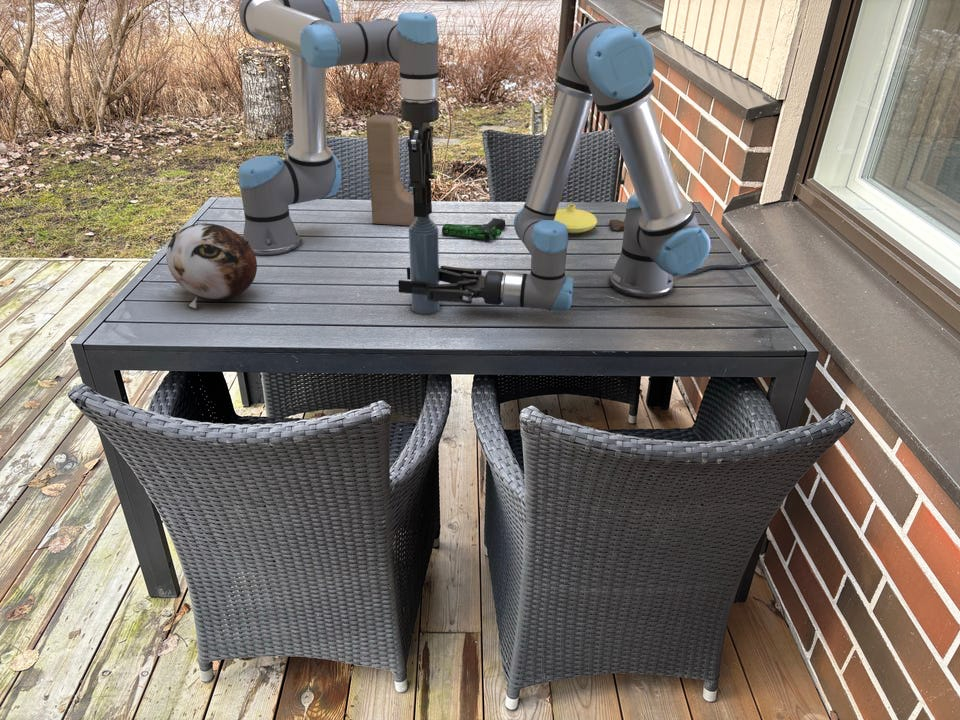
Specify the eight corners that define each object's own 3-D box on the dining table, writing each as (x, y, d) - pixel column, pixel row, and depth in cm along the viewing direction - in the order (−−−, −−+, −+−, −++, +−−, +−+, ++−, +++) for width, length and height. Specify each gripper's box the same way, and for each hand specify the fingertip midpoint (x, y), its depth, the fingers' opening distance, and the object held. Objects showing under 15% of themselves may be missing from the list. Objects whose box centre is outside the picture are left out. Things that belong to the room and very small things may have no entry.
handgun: (511, 219, 210) (493, 234, 198) (511, 228, 211) (492, 244, 199) (461, 212, 215) (440, 226, 203) (461, 221, 217) (440, 236, 204)
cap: (411, 210, 155) (411, 202, 154) (427, 208, 156) (427, 200, 155) (418, 216, 152) (417, 208, 151) (434, 213, 153) (434, 205, 152)
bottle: (439, 313, 163) (437, 212, 151) (411, 314, 163) (407, 212, 150) (439, 301, 168) (437, 202, 156) (412, 301, 168) (408, 202, 156)
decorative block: (421, 227, 210) (418, 122, 195) (372, 224, 212) (365, 119, 197) (426, 218, 217) (424, 116, 201) (378, 215, 218) (372, 114, 203)
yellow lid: (559, 216, 220) (561, 193, 217) (605, 227, 212) (608, 204, 209) (532, 230, 209) (533, 207, 206) (580, 242, 201) (582, 218, 198)
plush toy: (130, 285, 161) (164, 203, 163) (192, 308, 177) (221, 233, 178) (195, 307, 151) (229, 220, 152) (254, 330, 166) (285, 250, 168)
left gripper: (411, 90, 149) (414, 199, 161) (390, 107, 135) (396, 225, 147) (446, 92, 149) (447, 201, 161) (429, 108, 134) (431, 227, 146)
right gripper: (495, 323, 153) (392, 313, 157) (508, 285, 170) (414, 277, 173) (496, 291, 149) (390, 282, 153) (509, 256, 166) (413, 248, 169)
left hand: (422, 212), depth 154 cm, fingers closed on cap, 4 cm apart
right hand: (403, 279), depth 163 cm, fingers closed on bottle, 6 cm apart
